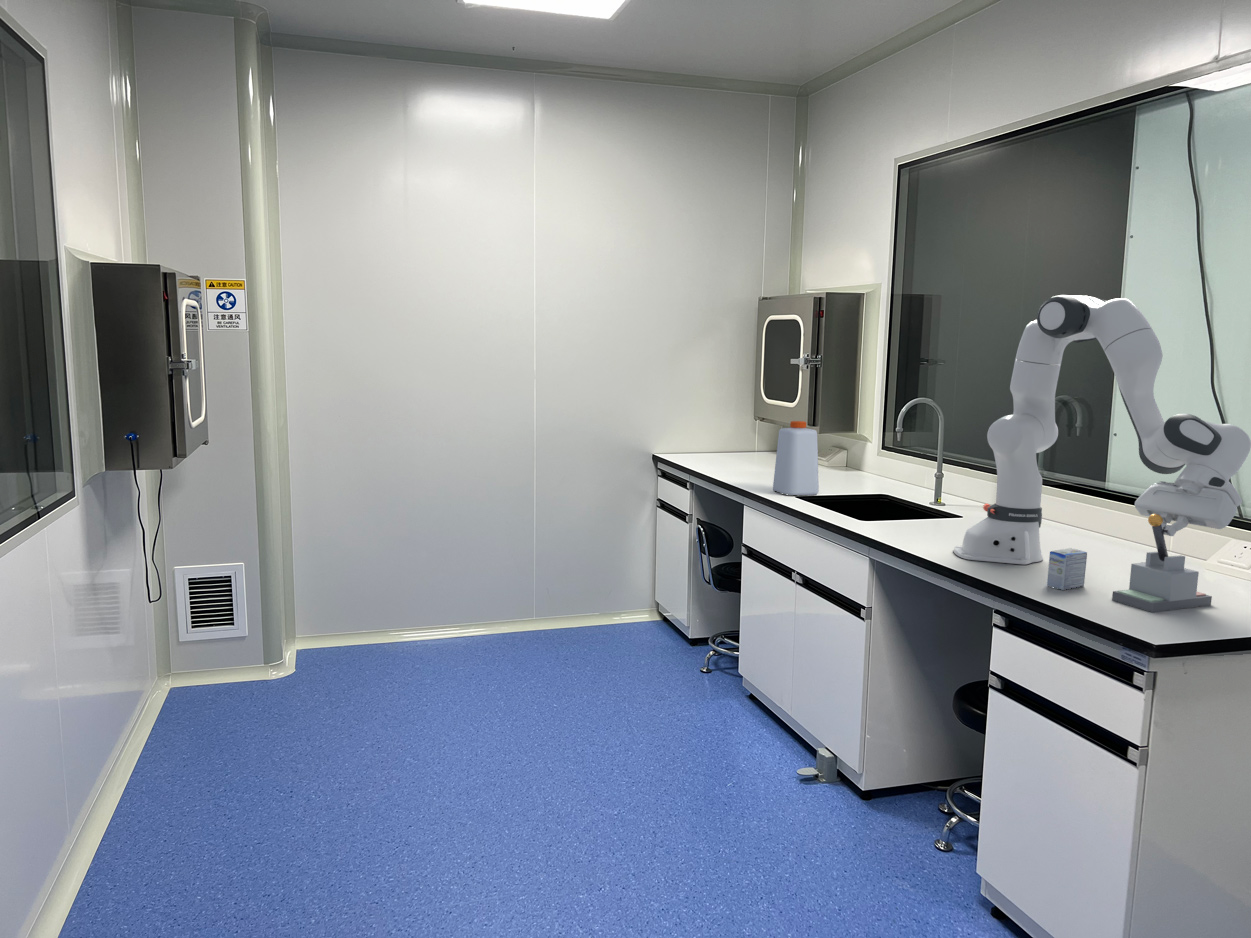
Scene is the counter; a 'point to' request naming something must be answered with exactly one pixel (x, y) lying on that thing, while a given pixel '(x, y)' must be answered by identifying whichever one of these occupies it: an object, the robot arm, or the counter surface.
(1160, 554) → the lever
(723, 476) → the counter surface
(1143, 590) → the breaker block
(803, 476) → the plastic bottle
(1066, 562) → the medicine box
